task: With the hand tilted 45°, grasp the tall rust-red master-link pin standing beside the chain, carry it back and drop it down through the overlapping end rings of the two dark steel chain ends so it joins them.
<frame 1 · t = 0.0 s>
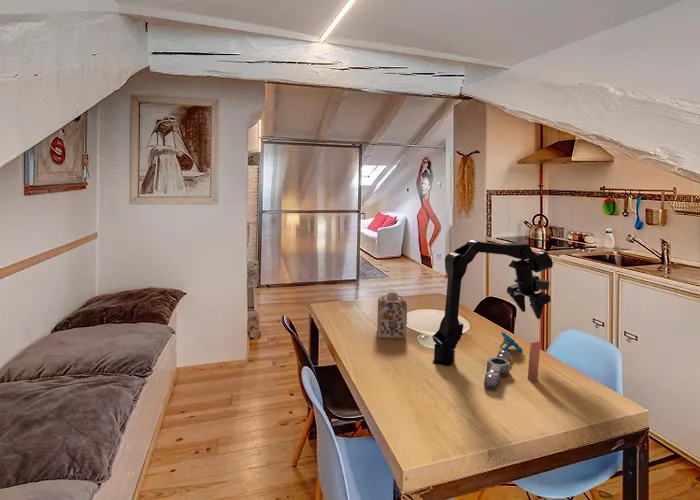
hand: (531, 315, 160), 15 cm above the table, tool pointing down, fingers open, 9 cm apart
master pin: (532, 379, 141), on the table
gear: (510, 351, 166), on the table
decorative jar: (391, 334, 184), on the table
chain ends: (497, 372, 146), on the table
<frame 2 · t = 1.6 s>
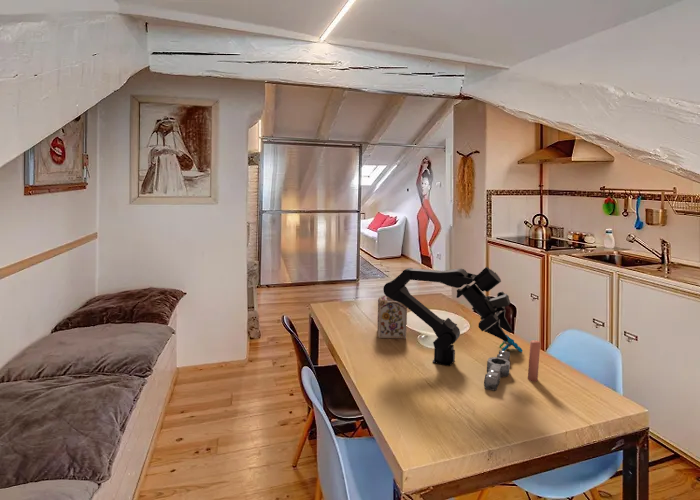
hand: (509, 336, 143), 13 cm above the table, tool tilted 45°, fingers open, 9 cm apart
nothing on the table moved.
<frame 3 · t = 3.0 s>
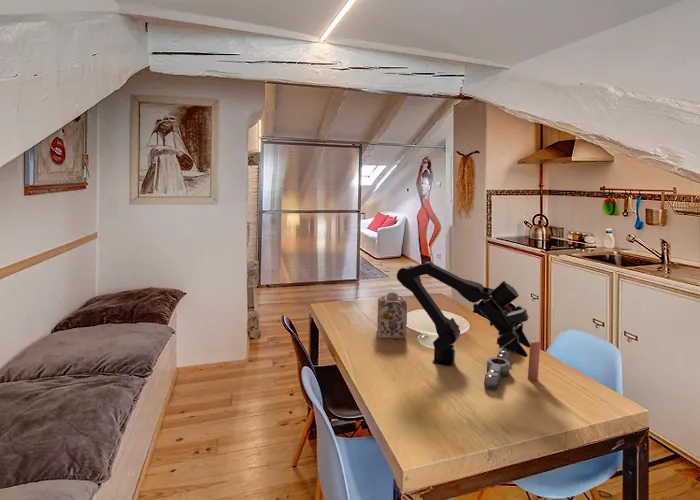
hand: (528, 351, 140), 9 cm above the table, tool tilted 45°, fingers open, 9 cm apart
nothing on the table moved.
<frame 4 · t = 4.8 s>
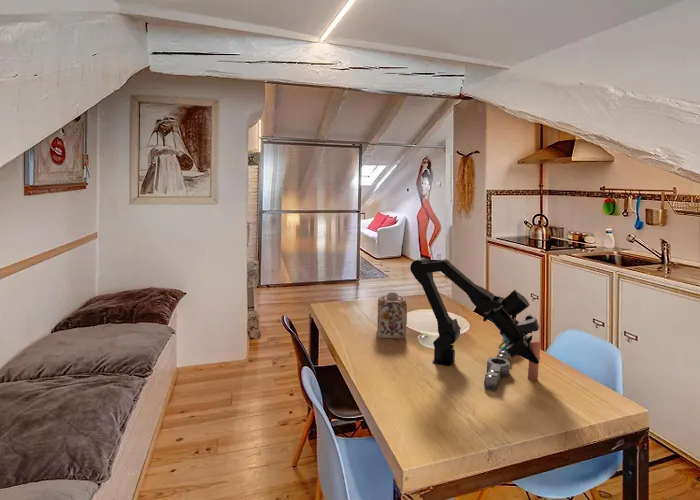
hand: (538, 361, 139), 7 cm above the table, tool tilted 45°, fingers closed on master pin, 3 cm apart
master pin: (532, 379, 141), on the table, touching gripper
everything else where it was.
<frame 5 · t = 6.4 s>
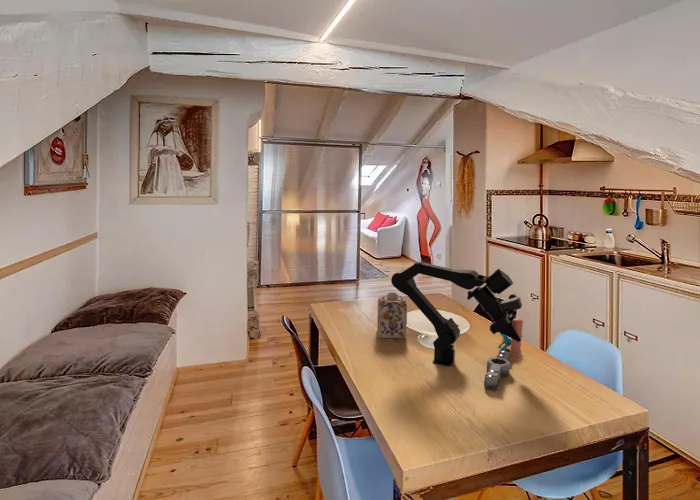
hand: (520, 339, 141), 13 cm above the table, tool tilted 45°, fingers closed on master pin, 3 cm apart
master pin: (514, 357, 143), point 6 cm above the table, touching gripper
everything else where it was.
when the fingers open (9 cm above the table, at t = 8.5 s): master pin drops 2 cm, resting in chain ends.
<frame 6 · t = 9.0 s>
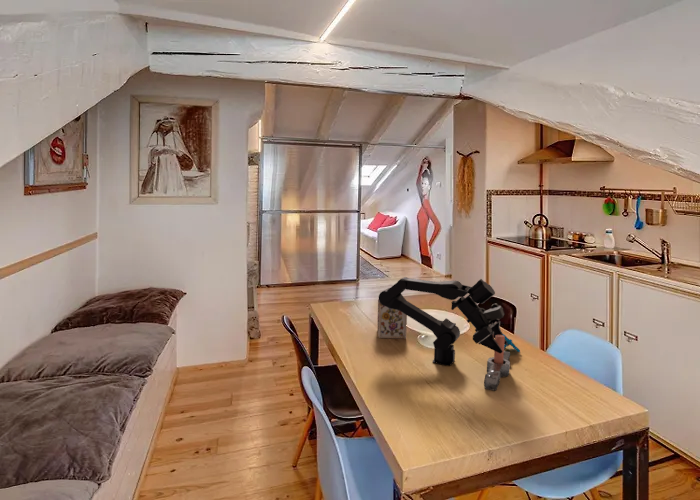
hand: (503, 348, 144), 9 cm above the table, tool tilted 45°, fingers open, 9 cm apart
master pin: (497, 372, 146), resting in chain ends
everything else where it was.
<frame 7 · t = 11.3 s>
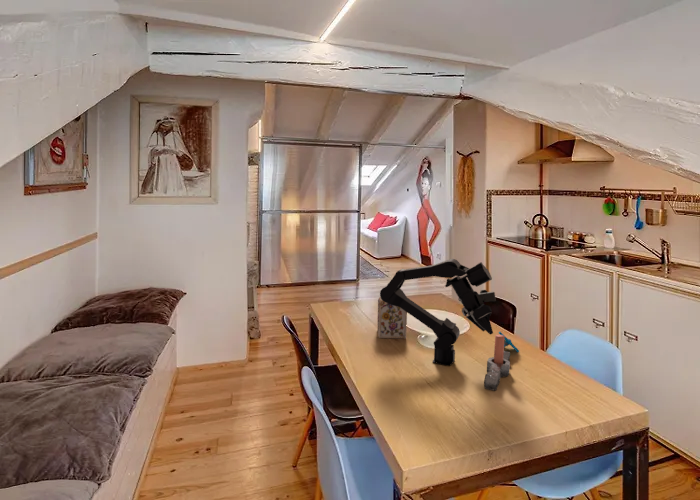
hand: (488, 332, 147), 13 cm above the table, tool tilted 30°, fingers open, 9 cm apart
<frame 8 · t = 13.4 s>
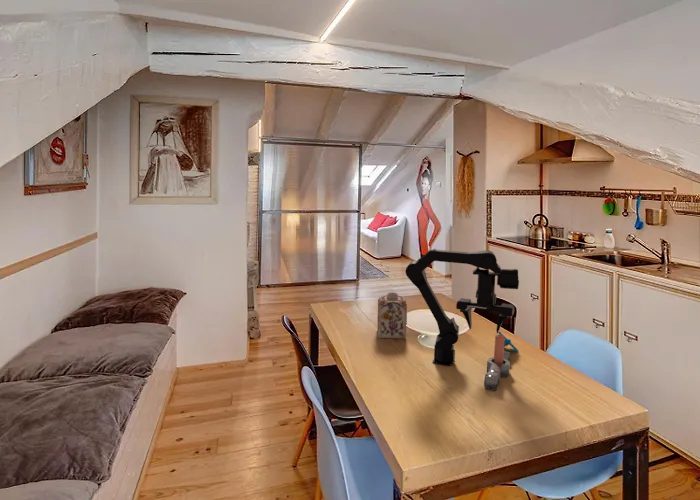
hand: (483, 330, 149), 13 cm above the table, tool pointing down, fingers open, 9 cm apart
at the end: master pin 0.0 cm off-centre on the chain ends, point 0.0 cm above the chain ends's base; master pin tilted 0°; the gripper is holding nothing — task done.
